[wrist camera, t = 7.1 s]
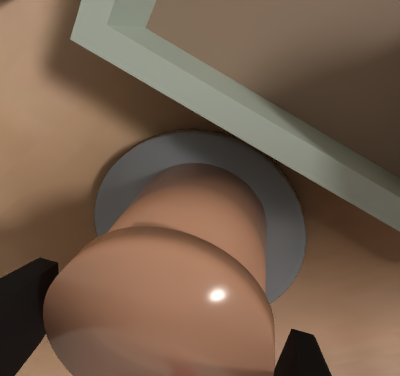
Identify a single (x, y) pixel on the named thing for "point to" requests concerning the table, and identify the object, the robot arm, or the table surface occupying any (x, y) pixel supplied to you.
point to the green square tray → (275, 79)
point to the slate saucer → (229, 160)
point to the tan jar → (170, 285)
